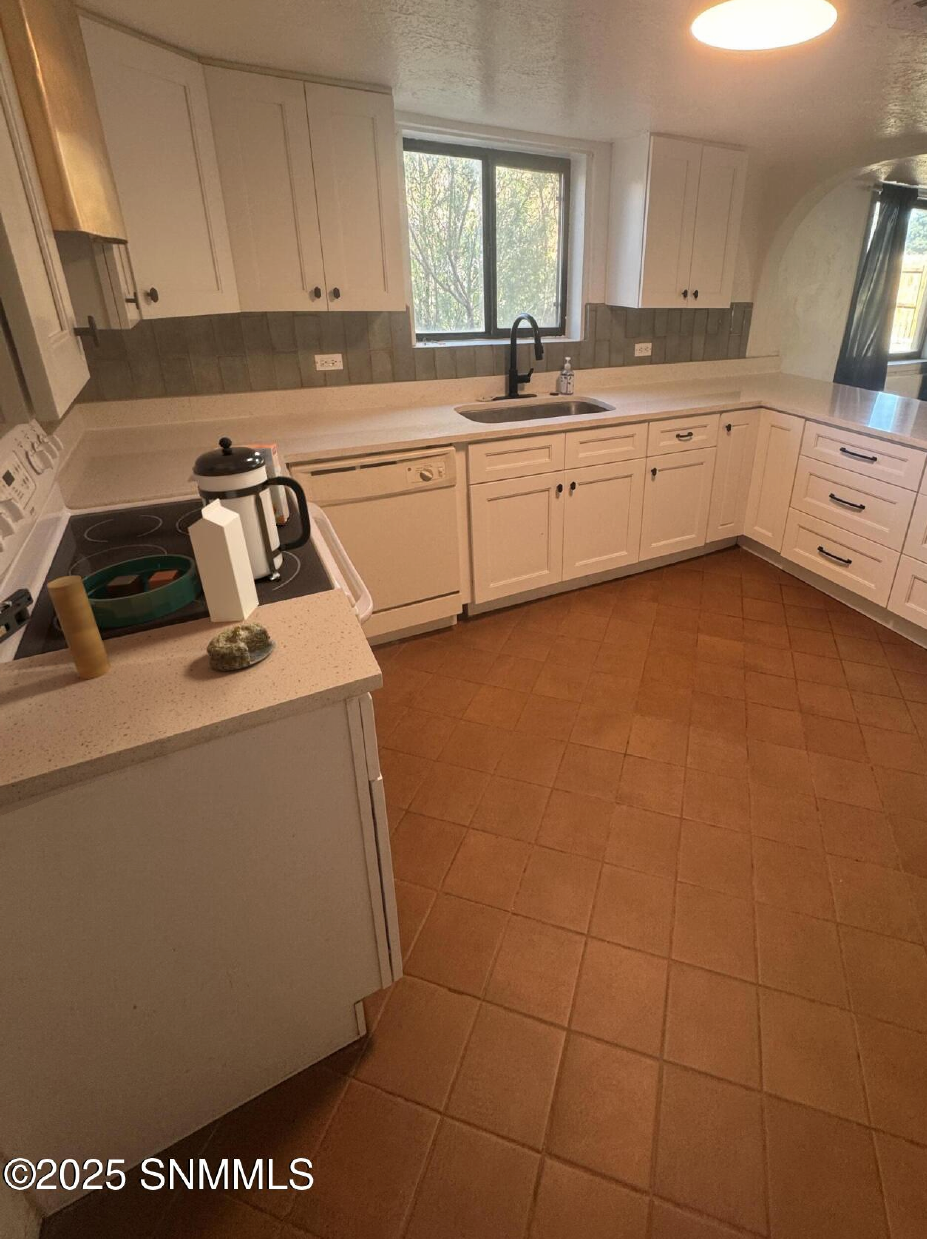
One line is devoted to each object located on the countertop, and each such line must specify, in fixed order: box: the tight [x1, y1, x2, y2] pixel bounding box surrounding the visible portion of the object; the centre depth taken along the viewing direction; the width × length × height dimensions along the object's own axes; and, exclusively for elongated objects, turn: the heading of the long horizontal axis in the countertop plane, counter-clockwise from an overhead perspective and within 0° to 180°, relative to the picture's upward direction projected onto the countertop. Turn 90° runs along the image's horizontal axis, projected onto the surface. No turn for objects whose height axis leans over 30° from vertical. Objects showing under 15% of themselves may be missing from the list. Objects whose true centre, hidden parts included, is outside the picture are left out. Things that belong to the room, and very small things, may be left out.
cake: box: [206, 622, 276, 671], centre depth 94 cm, size 10×10×5 cm
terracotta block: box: [148, 570, 180, 590], centre depth 114 cm, size 4×4×4 cm
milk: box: [187, 499, 260, 623], centre depth 103 cm, size 6×6×22 cm
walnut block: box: [106, 575, 144, 599], centre depth 112 cm, size 4×4×4 cm
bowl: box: [81, 553, 202, 629], centre depth 111 cm, size 19×19×6 cm
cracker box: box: [213, 442, 290, 523], centre depth 146 cm, size 14×6×21 cm, turn 102°
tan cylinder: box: [46, 574, 111, 680], centre depth 89 cm, size 4×4×16 cm
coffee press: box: [187, 436, 312, 584], centre depth 118 cm, size 17×16×30 cm
